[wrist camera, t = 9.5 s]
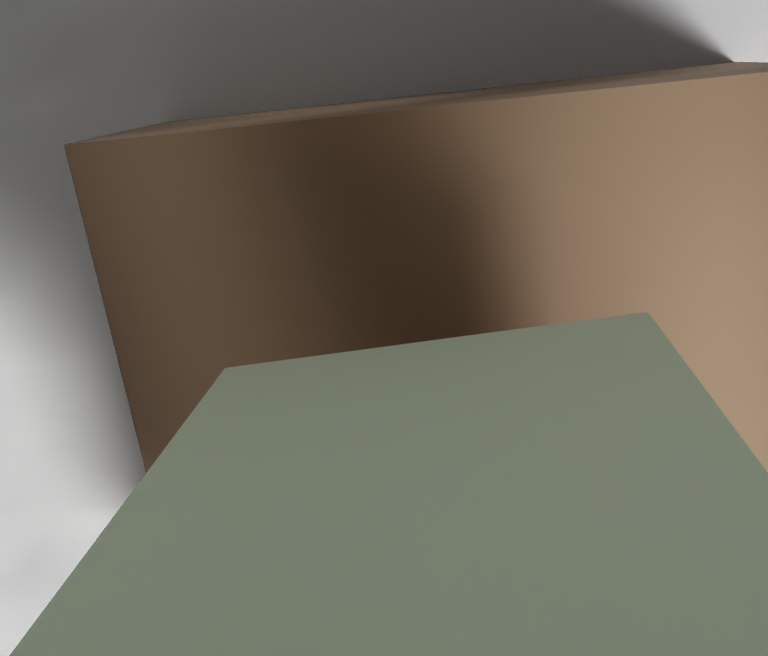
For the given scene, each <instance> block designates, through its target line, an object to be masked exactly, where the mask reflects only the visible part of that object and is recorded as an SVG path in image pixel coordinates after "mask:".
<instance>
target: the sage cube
mask: <svg viewBox="0 0 768 656" xmlns="http://www.w3.org/2000/svg"><path fill="white" fill-rule="evenodd" d="M10 656H768V473H767V471H766V470H765V469H764V467H763V466H762V465H761V463H760V462H759V461H758V459H757V458H756V456H755V455H754V454H753V452H752V451H751V450H750V448H749V447H748V446H747V444H746V443H745V442H744V440H743V439H742V438H741V436H740V435H739V434H738V432H737V431H736V430H735V428H734V427H733V426H732V424H731V423H730V422H729V420H728V419H727V418H726V416H725V415H724V414H723V412H722V411H721V409H720V408H719V407H718V405H717V404H716V403H715V401H714V400H713V399H712V397H711V396H710V395H709V393H708V392H707V391H706V389H705V388H704V387H703V385H702V384H701V383H700V381H699V380H698V379H697V377H696V376H695V375H694V373H693V372H692V371H691V369H690V368H689V367H688V365H687V364H686V362H685V361H684V360H683V358H682V357H681V356H680V354H679V353H678V352H677V350H676V349H675V348H674V346H673V345H672V344H671V342H670V341H669V340H668V338H667V337H666V336H665V334H664V333H663V332H662V330H661V329H660V328H659V326H658V325H657V324H656V322H655V321H654V319H653V318H652V317H651V315H650V314H649V313H648V312H641V313H633V314H626V315H618V316H611V317H603V318H596V319H588V320H581V321H573V322H566V323H558V324H551V325H543V326H536V327H528V328H521V329H513V330H506V331H498V332H491V333H483V334H476V335H468V336H461V337H453V338H446V339H438V340H431V341H423V342H416V343H408V344H401V345H393V346H386V347H378V348H371V349H363V350H356V351H348V352H341V353H333V354H326V355H318V356H311V357H303V358H296V359H288V360H281V361H273V362H265V363H258V364H250V365H243V366H235V367H228V368H225V369H224V370H223V371H222V373H221V374H220V375H219V377H218V378H217V379H216V381H215V382H214V383H213V385H212V386H211V387H210V389H209V390H208V391H207V393H206V394H205V395H204V397H203V398H202V399H201V401H200V402H199V403H198V405H197V406H196V407H195V409H194V410H193V411H192V413H191V414H190V415H189V417H188V418H187V419H186V421H185V422H184V423H183V425H182V426H181V427H180V429H179V430H178V431H177V433H176V434H175V435H174V437H173V438H172V439H171V441H170V442H169V443H168V445H167V446H166V448H165V449H164V450H163V452H162V453H161V454H160V456H159V457H158V458H157V460H156V461H155V462H154V464H153V465H152V466H151V468H150V469H149V470H148V472H147V473H146V474H145V476H144V477H143V478H142V480H141V481H140V482H139V484H138V485H137V486H136V488H135V489H134V490H133V492H132V493H131V494H130V496H129V497H128V498H127V500H126V501H125V502H124V504H123V505H122V506H121V508H120V509H119V510H118V512H117V513H116V514H115V516H114V517H113V518H112V520H111V521H110V522H109V524H108V525H107V526H106V528H105V529H104V530H103V532H102V533H101V534H100V536H99V537H98V538H97V540H96V541H95V542H94V544H93V545H92V546H91V548H90V549H89V550H88V552H87V553H86V554H85V556H84V557H83V558H82V560H81V561H80V562H79V564H78V565H77V566H76V568H75V569H74V570H73V572H72V573H71V574H70V576H69V577H68V578H67V580H66V581H65V582H64V584H63V585H62V586H61V588H60V589H59V590H58V592H57V593H56V594H55V596H54V597H53V598H52V600H51V601H50V602H49V604H48V605H47V606H46V608H45V609H44V610H43V612H42V613H41V614H40V616H39V617H38V618H37V620H36V621H35V622H34V624H33V625H32V626H31V628H30V629H29V630H28V632H27V633H26V634H25V636H24V637H23V638H22V640H21V641H20V642H19V644H18V645H17V646H16V648H15V649H14V650H13V652H12V653H11V654H10Z"/></svg>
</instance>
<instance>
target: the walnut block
mask: <svg viewBox="0 0 768 656" xmlns="http://www.w3.org/2000/svg"><path fill="white" fill-rule="evenodd" d="M64 146H65V150H66V154H67V158H68V162H69V166H70V170H71V174H72V178H73V182H74V186H75V190H76V194H77V198H78V202H79V206H80V210H81V214H82V218H83V222H84V226H85V230H86V234H87V238H88V242H89V246H90V250H91V254H92V258H93V262H94V266H95V270H96V274H97V278H98V282H99V286H100V290H101V294H102V298H103V302H104V306H105V310H106V314H107V318H108V322H109V326H110V330H111V334H112V338H113V342H114V346H115V350H116V354H117V358H118V362H119V366H120V370H121V374H122V378H123V382H124V386H125V390H126V394H127V398H128V402H129V406H130V410H131V414H132V418H133V422H134V426H135V430H136V434H137V438H138V442H139V446H140V450H141V454H142V458H143V462H144V466H145V470H146V473H147V472H148V470H149V469H150V468H151V466H152V465H153V464H154V462H155V461H156V460H157V458H158V457H159V456H160V454H161V453H162V452H163V450H164V449H165V448H166V446H167V445H168V443H169V442H170V441H171V439H172V438H173V437H174V435H175V434H176V433H177V431H178V430H179V429H180V427H181V426H182V425H183V423H184V422H185V421H186V419H187V418H188V417H189V415H190V414H191V413H192V411H193V410H194V409H195V407H196V406H197V405H198V403H199V402H200V401H201V399H202V398H203V397H204V395H205V394H206V393H207V391H208V390H209V389H210V387H211V386H212V385H213V383H214V382H215V381H216V379H217V378H218V377H219V375H220V374H221V373H222V371H223V370H224V369H225V368H228V367H235V366H243V365H250V364H258V363H265V362H273V361H281V360H288V359H296V358H303V357H311V356H318V355H326V354H333V353H341V352H348V351H356V350H363V349H371V348H378V347H386V346H393V345H401V344H408V343H416V342H423V341H431V340H438V339H446V338H453V337H461V336H468V335H476V334H483V333H491V332H498V331H506V330H513V329H521V328H528V327H536V326H543V325H551V324H558V323H566V322H573V321H581V320H588V319H596V318H603V317H611V316H618V315H626V314H633V313H641V312H648V313H649V314H650V315H651V317H652V318H653V319H654V321H655V322H656V324H657V325H658V326H659V328H660V329H661V330H662V332H663V333H664V334H665V336H666V337H667V338H668V340H669V341H670V342H671V344H672V345H673V346H674V348H675V349H676V350H677V352H678V353H679V354H680V356H681V357H682V358H683V360H684V361H685V362H686V364H687V365H688V367H689V368H690V369H691V371H692V372H693V373H694V375H695V376H696V377H697V379H698V380H699V381H700V383H701V384H702V385H703V387H704V388H705V389H706V391H707V392H708V393H709V395H710V396H711V397H712V399H713V400H714V401H715V403H716V404H717V405H718V407H719V408H720V409H721V411H722V412H723V414H724V415H725V416H726V418H727V419H728V420H729V422H730V423H731V424H732V426H733V427H734V428H735V430H736V431H737V432H738V434H739V435H740V436H741V438H742V439H743V440H744V442H745V443H746V444H747V446H748V447H749V448H750V450H751V451H752V452H753V454H754V455H755V456H756V458H757V459H758V461H759V462H760V463H761V465H762V466H763V467H764V469H765V470H766V471H767V473H768V63H758V62H730V63H720V64H711V65H702V66H692V67H683V68H673V69H664V70H654V71H645V72H635V73H626V74H617V75H607V76H598V77H588V78H579V79H569V80H560V81H551V82H541V83H532V84H522V85H513V86H503V87H494V88H484V89H475V90H466V91H456V92H447V93H437V94H428V95H418V96H409V97H400V98H390V99H381V100H371V101H362V102H352V103H343V104H334V105H324V106H315V107H305V108H296V109H286V110H277V111H267V112H258V113H249V114H239V115H230V116H220V117H211V118H201V119H192V120H183V121H173V122H164V123H160V124H155V125H151V126H146V127H142V128H137V129H133V130H128V131H124V132H119V133H115V134H110V135H106V136H102V137H97V138H93V139H88V140H84V141H79V142H75V143H70V144H66V145H64Z"/></svg>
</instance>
